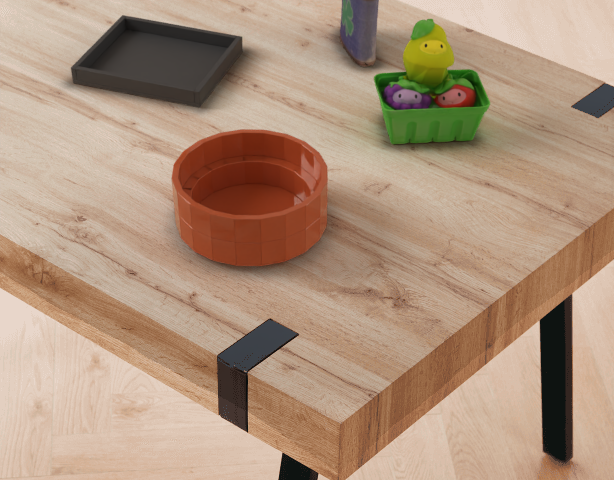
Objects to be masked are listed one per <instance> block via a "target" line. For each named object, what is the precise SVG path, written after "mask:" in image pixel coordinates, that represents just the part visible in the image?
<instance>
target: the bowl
mask: <svg viewBox="0 0 614 480" xmlns="http://www.w3.org/2000/svg"><path fill="white" fill-rule="evenodd" d="M328 175H329V174H328V165H327V163H326V161H325V160H324V158H323V156H322V154H321V153H320V152H319V151H318V150H317V149H316V148H314V147H313V146H311V145H310V144H309V143H308V142H306V141H305V140H303V139H300V138H298V137H295V136H293V135H290V134H288V133H285V132H284V133H283V132H279V131H274V130H269V129H257V128H256V129H253V128H252V129H250V128H249V129H248V128H247V129H245V128H244V129H235V130H229V131H221V132H218V133H215V134H212V135H210V136H206V137H204V138H200V139H199V140H197V141H196V142H194V143H193V144H191V145H190V146H188V147H187V148H186V149H184V150H182V152H181V153H180V154H179V156H178V158H177V159H176V160H175V161H174V163H173V165H172V172H171V179H170V180H171V188H172V199H173V210H174V220H175V226H176V229H177V232H178V234H179V237H180V239H181V240H182V241H183V243H185V244H186V245H187V246H188V247H189V248H190V249H191V250H192V251H193V252H194V253H196V254H198V255H201V256H202V257H204V258H207V259H209V260H211V261H213V262H217V263H222V264H226V265H231V266H235V267H236V266H237V267H263V266H269V265H274V264H275V265H276V264H279V263H284V262H285V263H286V262H287V261H289V260H292V259H294V258H296V257H299V256H301V255H303V254H305V253H306V252H307V251H309V250H311V248H312V247H313V246H314V245H316V244H317V243H319V241H320V240H321V238H322V236H323V234H324V232H325V230H326V228H327V225H328V191H329V190H328V188H329V187H328V186H329V184H328V183H329V177H328Z"/></svg>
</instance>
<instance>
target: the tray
mask: <svg viewBox="0 0 614 480" xmlns="http://www.w3.org/2000/svg"><path fill="white" fill-rule="evenodd" d="M243 48H244V47H243V36H241V35H236V34H230V33H224V32H219V31H213V30H208V29H203V28H196V27H191V26H186V25H180V24H174V23H169V22H164V21H157V20H153V19H148V18H147V19H146V18H141V17H135V16H130V15H126V14H125V15H124V14H122V15H121V16H120V17H119V18H118V19H117V20H116V21H115V22H114V23H113V24H112V25H111V26H110V27H109V28H108V29H107V30H106V31H105V32H104V33H103V34H102V35H101V36H100V37H99V38H98V39H97V40H96V41H95V42H94V44H92V45H91V46H90V47H89V49H87V50H86V52H85V53H84V54H83V55H81V57H80V58H78V60H77V61H75V62H74V64H73V65H72V66H71V67H70V71H71V79H72V83H73V84H76V85H81V86H85V87H90V88H96V89H100V90H101V89H102V90H106V91H112V92H117V93H122V94H127V95H132V96H138V97H144V98H148V99H153V100H158V101H164V102H169V103H174V104H180V105H183V106H184V105H185V106H189V107H195V108H198V109H199V108H201V107H202V106H203V105H204V104H205V102H206V101H207V99H208V98H209V97H210V96H211V95H212V93H213V92H214V90H215V89H216V88H217V86H218V85H219V83H220V82H221V81H223V78H224V77H225V76H226V75H227V73H228V72H229V70H230V69H231V68H232V66H233V65H234V64H235V63H236V61H237V60H238V59H239V58H240V56H241V55H242V53H243V52H244V49H243Z"/></svg>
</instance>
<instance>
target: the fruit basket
mask: <svg viewBox="0 0 614 480" xmlns="http://www.w3.org/2000/svg"><path fill="white" fill-rule="evenodd" d="M402 63H403V66H404V70H405V71H392V72H380V73H376V74H375V75H374V76H373V81H374V87H375V90H376V92H377V96H378V99H379V105H380V108H381V112H382V113H381V114H382V117H383V121H384V123H385V128H386V132H387V135H388V137H389V142H390V144H391V145H405V144H409V143H410V144H425V143H426V144H428V143H431V142H433V143H447V142H453V141H456V142H469V141H473V140H474V138H475V136H476V133H477V132H478V129H479V127H480V124H481V122H482V120H483V118H484V115H485V114H486V112H488V110H489V108H490V106H491V100H490V98H489V97H488V94H487V91H486V90H485V86H484V85H483V82H482V80H481V77H480V75H479V73H478V72H477V71H476V70H474V69H470V68H468V69H465V68H463V69H448V68H450V67H452V66H454V64H455V55H454V51H453V49H452V46H451V45H450V42H449V41H448V37H447V33H446V31H445V29H444V28H443V27H442V26H441V25H439V24H437V23H435V22H434V18H427V19H419V21H417V22H416V23H415V24H414V25H413V28H412V32H411V35H410V40H409V41H408V42H407V44H406V45H405V48H404V50H403V54H402Z"/></svg>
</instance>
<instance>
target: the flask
mask: <svg viewBox="0 0 614 480" xmlns="http://www.w3.org/2000/svg"><path fill="white" fill-rule="evenodd" d="M379 3H380V0H341V8H340V9H341V15H340V26H339V42H340V44H341V47H342V48H343V49H344V50H345V52H346V54H347V55H348V57H350V59H351V60H352V61H353V62H354V63H355V64H357V65H358V66H360V67H363V68H367V67H369V66H372V67H374V65H375V63H376V60H377V59H376V58H377V57H376V56H377V55H376V53H377V31H378V17H379Z"/></svg>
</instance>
